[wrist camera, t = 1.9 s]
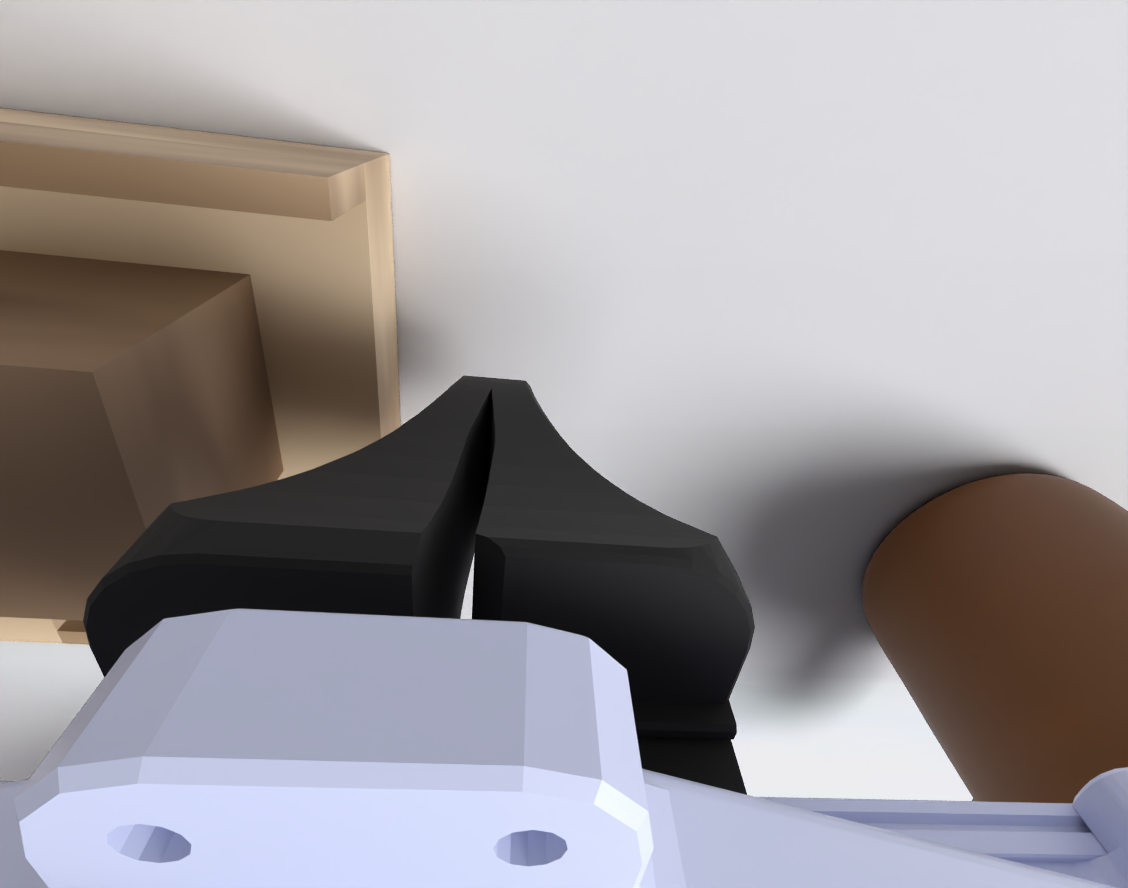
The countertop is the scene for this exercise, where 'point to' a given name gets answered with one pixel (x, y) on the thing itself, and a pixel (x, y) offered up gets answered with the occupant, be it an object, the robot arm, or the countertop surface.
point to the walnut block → (118, 413)
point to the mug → (1012, 631)
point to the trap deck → (229, 259)
